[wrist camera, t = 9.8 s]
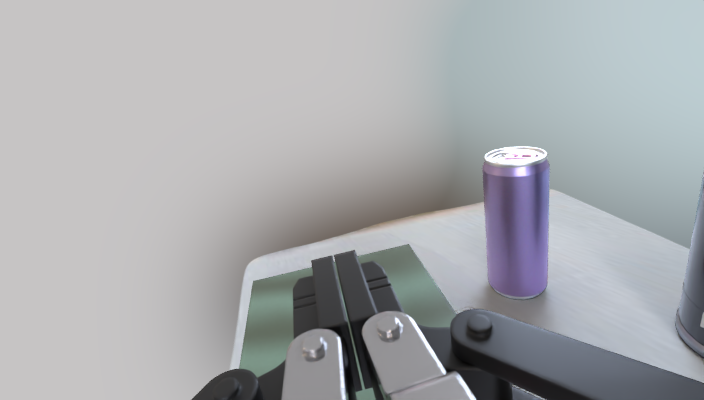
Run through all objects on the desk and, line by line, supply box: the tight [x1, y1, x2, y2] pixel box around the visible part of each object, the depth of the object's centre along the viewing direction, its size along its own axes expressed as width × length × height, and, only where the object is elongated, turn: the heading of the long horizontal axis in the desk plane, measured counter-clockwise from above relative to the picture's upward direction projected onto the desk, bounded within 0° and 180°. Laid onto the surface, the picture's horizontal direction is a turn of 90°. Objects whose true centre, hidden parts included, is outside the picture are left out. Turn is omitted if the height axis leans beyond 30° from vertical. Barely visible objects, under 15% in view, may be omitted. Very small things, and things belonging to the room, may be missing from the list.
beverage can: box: [483, 147, 550, 299], centre depth 39 cm, size 6×6×15 cm
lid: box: [239, 244, 457, 400], centre depth 24 cm, size 16×14×1 cm
